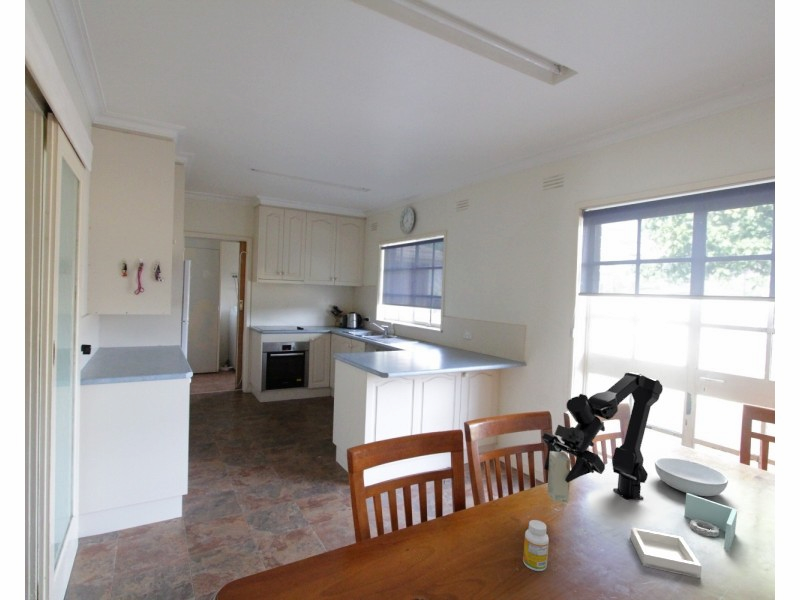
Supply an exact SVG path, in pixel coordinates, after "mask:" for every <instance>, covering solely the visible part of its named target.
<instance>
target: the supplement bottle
mask: <svg viewBox="0 0 800 600" xmlns="http://www.w3.org/2000/svg"><path fill="white" fill-rule="evenodd" d="M549 540H550V539H549V535H548V534H547V524H546V523H544V522H543V521H541V520H537V519H532V520H530V521H529V522H528V528H527V530H525V533H524V543H523V544H524V545H523V554H522V555H523V556H522V561H523V563H524V565H525V566H526V568H528V569H530V570H532V571H535V572H542V571H545V570H546V569H547V567H548V553H549V542H550V541H549Z"/></svg>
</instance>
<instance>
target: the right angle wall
mask: <svg viewBox="0 0 800 600" xmlns="http://www.w3.org/2000/svg"><path fill="white" fill-rule="evenodd" d="M684 504H685V505H684V515H683V516H684V517H686V518H688V519H691V520H690V522H689V527H690V528H691V529H692V530H693V531H695V533H697V534H699V535H700V534H701V535H703V536H705V537H714V538H715V537H719V536H720V534H721V533H720V530H721V529H722V530H721V531H723V530H724V532H725V535H724V536H725V537H724V544H723V550H725V551H730V550H731V547H732V543H733V542H734V541H733V540H734V538H735V534H736V528H737V517H738V509H736V508H734V507H731V506H728V505H724V504H722V503H720V502H719V503H718V502H715V501H712V500H709V499H706V498H705V497H704V498H703V497H702V496H699V495H692V494H689V493H686V494H685V503H684ZM718 528H719V529H718ZM709 529H711V530H709Z"/></svg>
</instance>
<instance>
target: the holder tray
mask: <svg viewBox="0 0 800 600" xmlns="http://www.w3.org/2000/svg"><path fill="white" fill-rule="evenodd" d="M629 535H630V536H629V537H630V538H629V539H630V540H631V542H632V544H633V546H634V549H635V551H636V554H637V555H638V557H639V559H640V562H641V563H642V566H643V567H647V568H652V569H656V570H659V571H660V570H661V571H665V572H669V573H674V574H679V575H683V576H688V577H692V578H697V579H701V578H702V577H701V576H702V567H703V566H702V564H701V563H700V561H699V560H698V558H697V557H696V556H695V554H694V553H693V551H692V549H690V547H689V545H688V543H687V542H686V541H685V540H684V538H683V537H682V536H678V535H675V534H671V533H670V534H668V533H663V532H659V531H653V530H650V529H649V530H647V529H644V528H643V529H642V528H638V527H630V534H629Z"/></svg>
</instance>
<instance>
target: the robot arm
mask: <svg viewBox="0 0 800 600" xmlns="http://www.w3.org/2000/svg"><path fill="white" fill-rule="evenodd" d="M663 390H664V389H663V385H662V383H661V382H660V381H659V379H654V378H650V377H647V376H645V375H643V374H641V373H636V372H632V371H626V372H624V375H623V376H622V378H620V379H619V380H618V381H617V382H616V383H614V384H613V385H612V386H610V387H609V388H608V389H607V390H606V391H603V392H596V393H595V394H593V395H591V396H590V397H588V396H587V394H584V393H579V394H578V395H577V396H574V397H572V398H570V399H568V401H567V402H566V405H565V406H566V409H567V410H568V413H569V414H570V415H571V416H572V419H574V421H575V422H576V423H577V424H576V426H575V427H574V426H571V427H569V428H568V427H566V426H563V425H561V424H558V425H557V427H556V429H555V432H554V434H552V433H550V432H544V433H543V434H542V436H541V438H540V439H541V440H542V441H543V443H544V445H545V446H546V447H547V454H546V455H547V456H546V459H545V463H544V468H543V469H544V470H545V471H546V472H547V471H548V470H549V454H550V451H554V452H564V453H567V454H569V455H571V456H572V457H575V464H574V465H573V466H572V468H570V472H569V474H568V475H567V477H566V479H565V481H566V482H567V483H568V482H569V483H570V482H572V481H574V480H577V479H578V478H580V477H582V476H584V475H588V474H589V473H590V474H591V473H592V474H594V473H598V474H599V475H603V473H604V471H605V470H606V466H605V465H606V464H605V463H604V461H603V460H602V458H601V457H600V456H599V454H597V453H594V452H592V451H590V450H588V449H589V447H593V446H594V445H595V444H594V442H593V441H594V439H595V438H596V437H597V435H598V433H600V431H601V432H605V431H606V427H605V424H604V423H605V422H604V421H602V420H601V419H600V418H602V419H604V420H611V419H613V418H614V417H615V416H616V414H617V413H618V409H619V404H620V403H622V402H623V401H624V400H625V399H626V398H627V397H628V396H630V395H631V397H632V399H633V405H632V409H631V413H630V417H629V421H628V424H627V428H626V431H625V436H624V440H623V443H622V444H621V445H620V446H619V447H618V446H616V447H615V449H614V453H613V456H612V459H611V464H612V465H611V466H612V470H613V473H615V474H618V480H617V487H615V488H613V491H614V492H615V493H617V494H618V495H619V496H621V497H622V498H623V499H625V500H627V501H628V500H629V501H630V500H644V496H642V495H641V489H642V488H641V487H642V486H641V483H642V484H645V483H646V481H647V479H648V476H649V475H648V474H649V473H648V472H647V470H646V469H645V466H644V456H643V454H642V450H641V448H642V443H643V439H644V435H645V431H646V427H647V424H648V423H647V422H648V420H649V419H648V418H649V415H650V412H651V407H652V406H653V405H654V404H655V403H656V402H658V401H659V399H660V396H661V394H662V392H663ZM558 436H559V437H560V439H559V438H558ZM560 440H561V441H560Z"/></svg>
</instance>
